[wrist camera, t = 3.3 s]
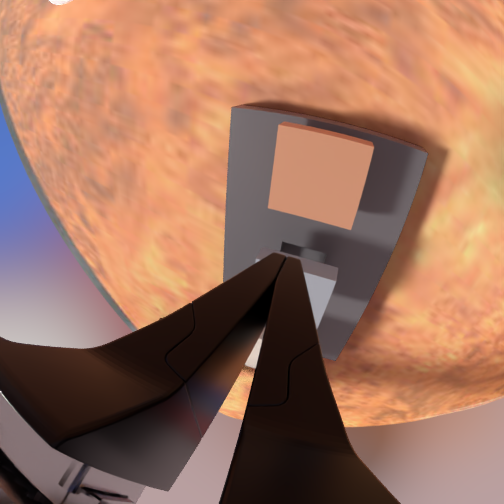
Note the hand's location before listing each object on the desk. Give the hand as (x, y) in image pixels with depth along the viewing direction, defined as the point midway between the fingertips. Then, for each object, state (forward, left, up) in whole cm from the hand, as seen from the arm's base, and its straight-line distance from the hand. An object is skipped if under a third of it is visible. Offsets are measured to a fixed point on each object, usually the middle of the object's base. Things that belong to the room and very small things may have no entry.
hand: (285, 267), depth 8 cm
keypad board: (-6, 0, -10) cm, 12 cm away
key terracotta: (+1, 0, -9) cm, 9 cm away
